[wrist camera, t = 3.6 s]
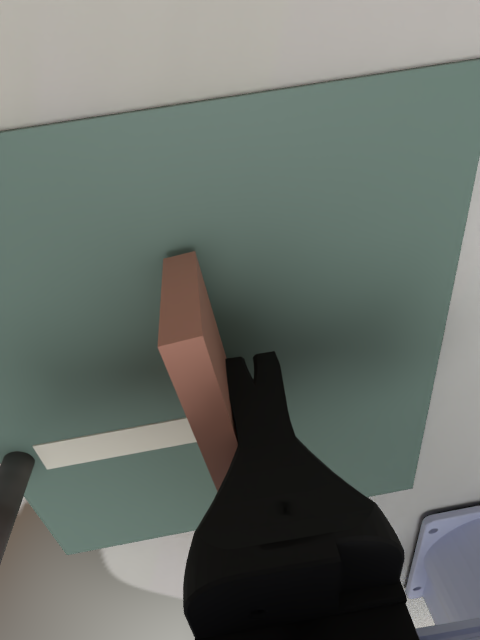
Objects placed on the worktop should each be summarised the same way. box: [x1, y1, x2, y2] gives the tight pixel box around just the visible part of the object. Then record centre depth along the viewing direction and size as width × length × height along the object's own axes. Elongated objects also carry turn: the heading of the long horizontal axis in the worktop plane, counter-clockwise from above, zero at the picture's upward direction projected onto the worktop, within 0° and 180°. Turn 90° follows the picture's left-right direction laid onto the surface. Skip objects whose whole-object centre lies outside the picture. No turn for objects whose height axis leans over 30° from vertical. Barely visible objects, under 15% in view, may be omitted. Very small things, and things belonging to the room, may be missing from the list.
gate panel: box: [158, 251, 238, 492], centre depth 11 cm, size 7×1×4 cm, turn 12°
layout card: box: [0, 58, 480, 555], centre depth 15 cm, size 18×17×1 cm
